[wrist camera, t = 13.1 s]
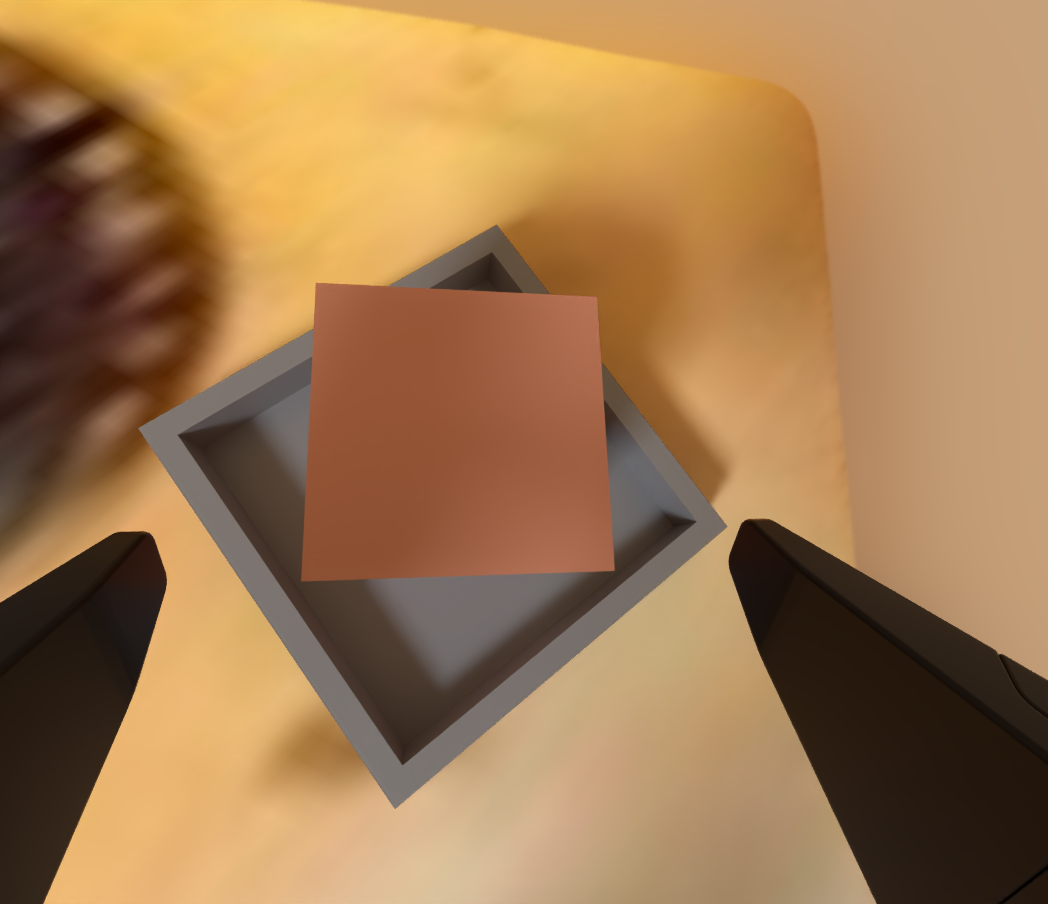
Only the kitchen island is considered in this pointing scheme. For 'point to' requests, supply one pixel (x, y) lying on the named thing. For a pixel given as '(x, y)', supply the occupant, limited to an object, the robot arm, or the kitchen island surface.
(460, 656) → the charcoal tray
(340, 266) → the kitchen island surface
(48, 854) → the robot arm
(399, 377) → the terracotta block
